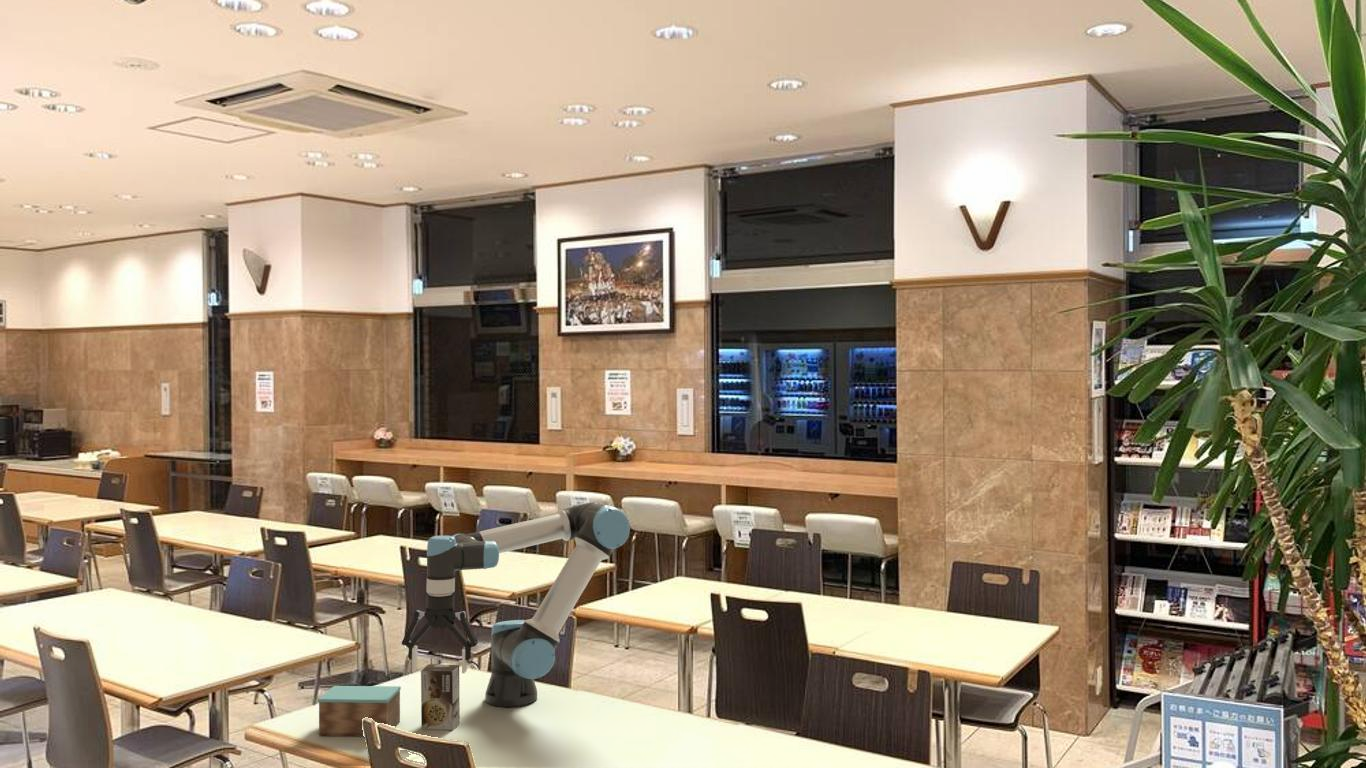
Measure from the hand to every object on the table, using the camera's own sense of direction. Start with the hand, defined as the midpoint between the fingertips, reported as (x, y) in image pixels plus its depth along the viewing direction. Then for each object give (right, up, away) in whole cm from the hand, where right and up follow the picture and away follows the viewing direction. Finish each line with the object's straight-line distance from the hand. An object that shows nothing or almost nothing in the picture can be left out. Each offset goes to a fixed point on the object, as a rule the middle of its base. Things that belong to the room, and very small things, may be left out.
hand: (439, 671), depth 285 cm
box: (-21, -15, -2) cm, 26 cm away
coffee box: (0, -15, 0) cm, 15 cm away
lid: (-21, -6, -3) cm, 22 cm away
